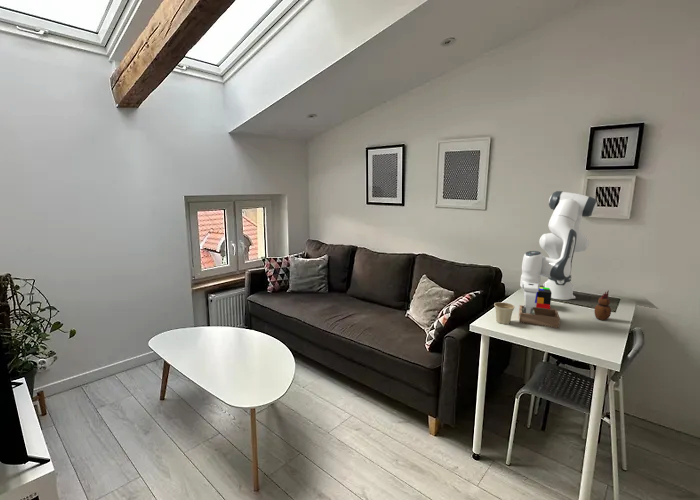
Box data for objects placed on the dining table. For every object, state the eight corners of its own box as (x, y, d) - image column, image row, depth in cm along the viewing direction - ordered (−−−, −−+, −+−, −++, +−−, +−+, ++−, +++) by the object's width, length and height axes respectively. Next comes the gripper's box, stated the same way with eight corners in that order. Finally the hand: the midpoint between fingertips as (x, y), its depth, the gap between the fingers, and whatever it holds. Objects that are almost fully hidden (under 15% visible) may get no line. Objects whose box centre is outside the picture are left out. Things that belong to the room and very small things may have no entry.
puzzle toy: (529, 308, 200) (531, 290, 198) (528, 302, 209) (529, 286, 207) (549, 310, 196) (551, 292, 195) (547, 304, 206) (549, 287, 204)
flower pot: (504, 327, 173) (505, 309, 171) (488, 320, 181) (490, 304, 180) (517, 323, 177) (519, 306, 176) (501, 317, 185) (503, 301, 184)
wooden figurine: (605, 317, 186) (609, 289, 184) (612, 321, 181) (616, 292, 178) (591, 316, 187) (594, 288, 184) (597, 320, 181) (601, 292, 179)
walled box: (518, 314, 190) (519, 305, 189) (555, 319, 183) (556, 309, 182) (519, 322, 178) (520, 313, 177) (558, 328, 171) (560, 318, 170)
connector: (523, 316, 185) (524, 303, 184) (531, 317, 183) (533, 304, 182) (522, 318, 181) (524, 305, 180) (531, 320, 180) (533, 306, 178)
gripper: (522, 278, 190) (520, 303, 192) (523, 288, 171) (521, 315, 174) (535, 279, 187) (533, 304, 190) (538, 289, 169) (535, 317, 171)
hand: (527, 310), depth 182 cm, fingers open, 8 cm apart
